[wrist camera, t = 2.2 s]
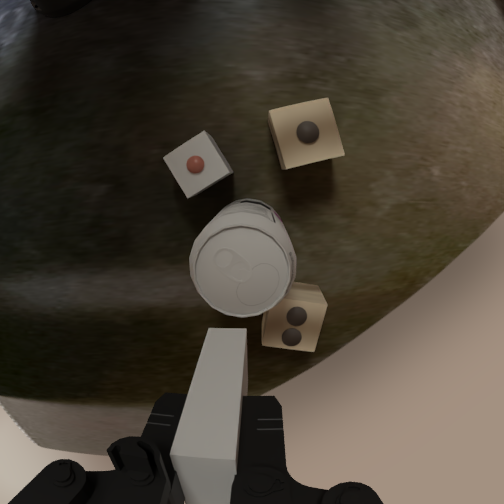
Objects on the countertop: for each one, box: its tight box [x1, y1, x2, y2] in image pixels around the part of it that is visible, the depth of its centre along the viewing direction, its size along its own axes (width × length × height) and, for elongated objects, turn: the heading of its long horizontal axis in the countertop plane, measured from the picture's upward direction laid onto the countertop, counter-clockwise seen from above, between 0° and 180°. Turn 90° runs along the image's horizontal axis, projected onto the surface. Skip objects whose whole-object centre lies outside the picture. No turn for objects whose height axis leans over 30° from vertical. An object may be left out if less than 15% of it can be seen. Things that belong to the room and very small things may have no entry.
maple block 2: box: [262, 282, 327, 352], centre depth 36 cm, size 6×6×6 cm
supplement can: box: [189, 198, 296, 318], centre depth 30 cm, size 8×8×15 cm
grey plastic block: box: [163, 131, 233, 198], centre depth 33 cm, size 5×5×5 cm
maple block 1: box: [268, 98, 345, 170], centre depth 31 cm, size 6×6×6 cm
